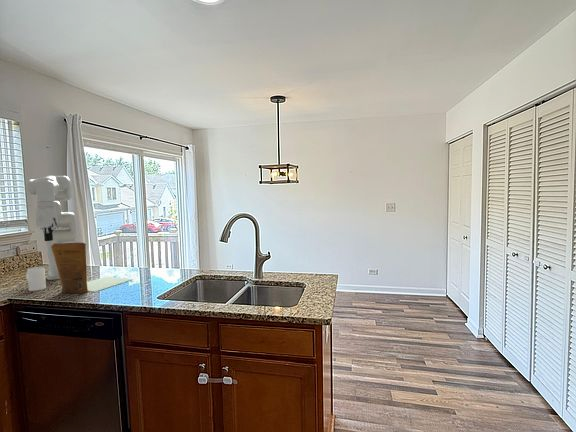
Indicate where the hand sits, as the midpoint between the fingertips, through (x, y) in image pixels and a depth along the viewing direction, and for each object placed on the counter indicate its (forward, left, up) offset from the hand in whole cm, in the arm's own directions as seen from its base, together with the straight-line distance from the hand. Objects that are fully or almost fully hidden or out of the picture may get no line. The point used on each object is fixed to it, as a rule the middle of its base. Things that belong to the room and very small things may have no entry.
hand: (48, 240), depth 177 cm
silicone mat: (0, +29, -31) cm, 42 cm away
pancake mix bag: (0, +12, -31) cm, 33 cm away
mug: (-29, +10, -31) cm, 44 cm away
